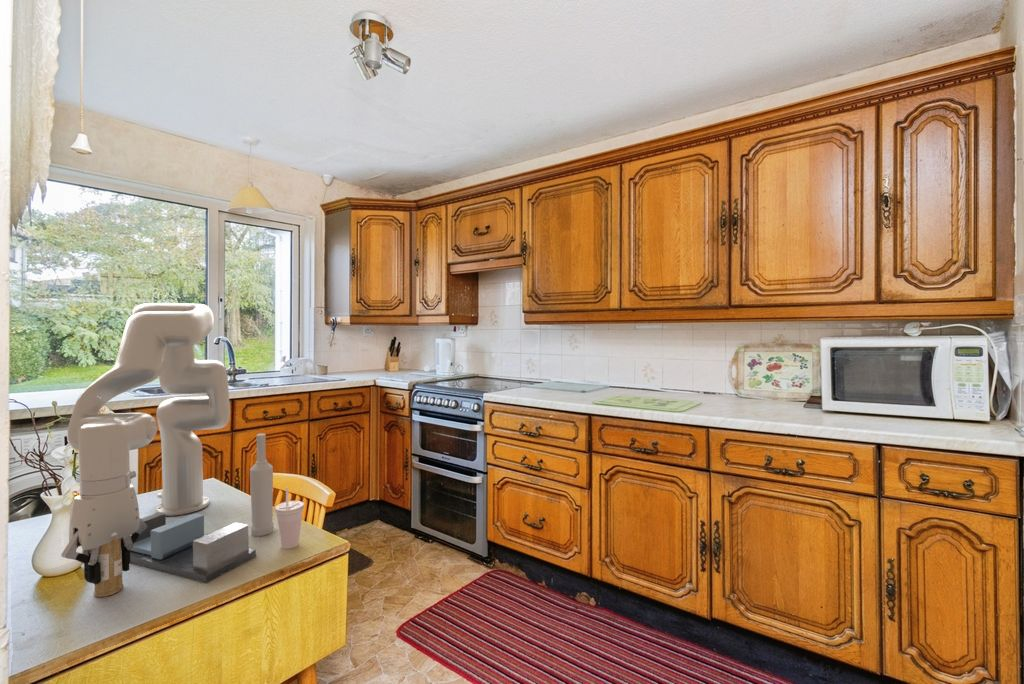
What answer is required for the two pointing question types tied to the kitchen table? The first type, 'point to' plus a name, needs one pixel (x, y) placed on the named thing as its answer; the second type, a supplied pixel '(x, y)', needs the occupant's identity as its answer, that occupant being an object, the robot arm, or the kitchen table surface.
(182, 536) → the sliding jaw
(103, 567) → the spice jar
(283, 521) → the smoothie
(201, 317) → the robot arm
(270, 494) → the bottle
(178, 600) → the kitchen table surface
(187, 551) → the clamp base
